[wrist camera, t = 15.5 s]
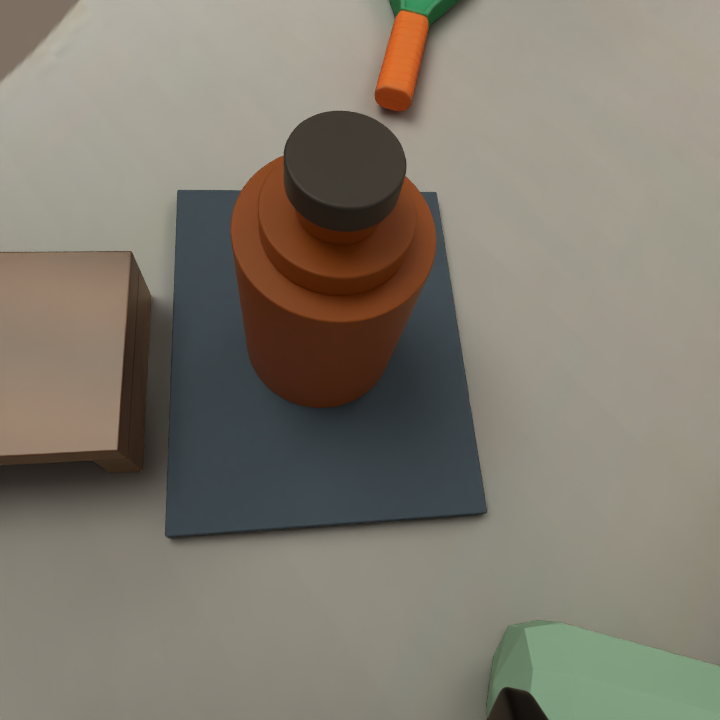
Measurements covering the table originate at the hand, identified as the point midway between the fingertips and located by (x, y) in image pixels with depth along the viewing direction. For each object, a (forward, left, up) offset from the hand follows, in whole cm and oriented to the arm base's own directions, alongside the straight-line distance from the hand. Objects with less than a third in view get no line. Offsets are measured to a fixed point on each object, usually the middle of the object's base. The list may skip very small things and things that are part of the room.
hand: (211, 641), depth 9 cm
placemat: (+10, -3, -13) cm, 17 cm away
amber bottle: (+10, -3, -12) cm, 16 cm away
